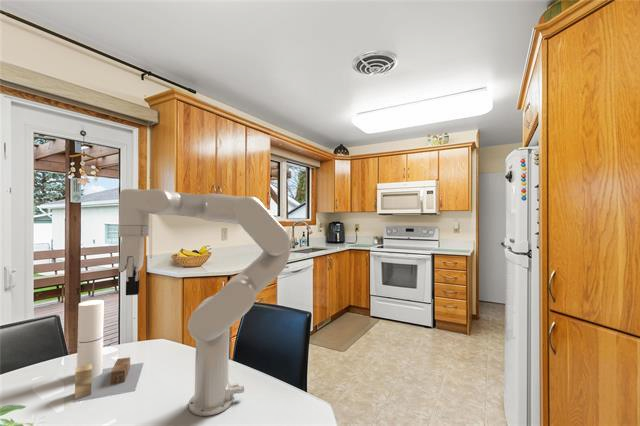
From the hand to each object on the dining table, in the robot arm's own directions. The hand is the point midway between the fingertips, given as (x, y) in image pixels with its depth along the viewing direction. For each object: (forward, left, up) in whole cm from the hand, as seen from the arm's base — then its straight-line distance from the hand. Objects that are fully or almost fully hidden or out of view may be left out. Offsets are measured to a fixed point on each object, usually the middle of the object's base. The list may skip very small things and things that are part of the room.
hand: (132, 294), depth 88 cm
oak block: (+14, -13, -33) cm, 38 cm away
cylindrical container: (+16, -26, -33) cm, 45 cm away
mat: (+8, -19, -33) cm, 39 cm away
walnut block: (+6, -16, -31) cm, 35 cm away
